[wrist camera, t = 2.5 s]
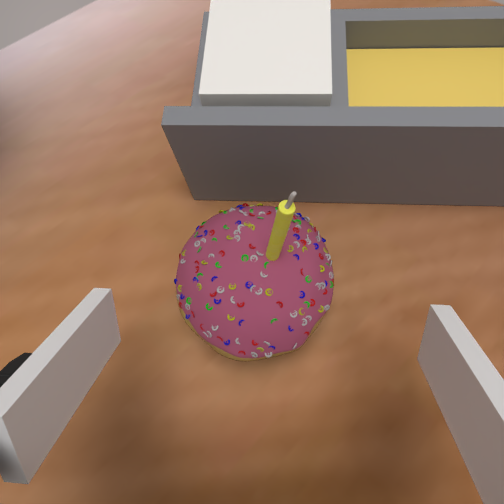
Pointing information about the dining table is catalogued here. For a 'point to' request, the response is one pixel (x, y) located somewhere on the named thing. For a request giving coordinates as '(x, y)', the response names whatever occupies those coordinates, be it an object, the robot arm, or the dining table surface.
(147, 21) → the dining table surface
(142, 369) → the dining table surface
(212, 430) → the dining table surface
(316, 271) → the cupcake
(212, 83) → the blank block
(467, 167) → the tray
